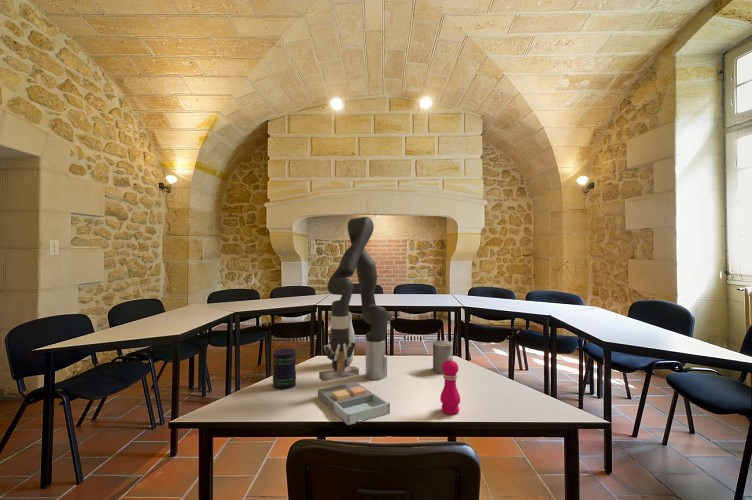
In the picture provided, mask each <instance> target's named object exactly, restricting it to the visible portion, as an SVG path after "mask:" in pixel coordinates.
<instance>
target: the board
mask: <svg viewBox="0 0 752 500" xmlns="http://www.w3.org/2000/svg"><path fill="white" fill-rule="evenodd" d="M358 386H361V387H362V388H364V389H365V390H366V394H364V395H360V396H356V397H354V396H353V395H352V394H351V393H350V398H347V399H343V400H339V401H338V400H337V399H336V398H334V397H333V392H335V391H340V390H346V391H347V392H348V393H349V388H353V387H358ZM373 393H374V392H371V391H370V390H369V389H367V388H366V387H364V386H362V385H361V384H359V383H358V382H356V381H352V382H346V383H342V384H341V383H340V384H337V385H333V386H329V387H324V388H319V389H317V398H318V399H319V400H320V401H322V403H323V404H325V406H326V407H327V408H328V409H330V410H331V411H332V412H333V413H334V403H337V404H339V405H340V406H341V407H342V408H347V407H351V406H355V405H359V404H363V403H367V402H371V401H372V394H373Z"/></svg>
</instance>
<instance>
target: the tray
mask: <svg viewBox="0 0 752 500" xmlns="http://www.w3.org/2000/svg"><path fill="white" fill-rule="evenodd" d="M372 393H373V394H372V401H371V402H367V403H363V404H359V405H355V406H351V407H347V408H342V407H341V406H340V405H339V404H337V403H334V412H333V413H334V414H335V415H336V416H337V415H338V416H339V417H340V418H342V419H343V420H344V421H345V422H344V421H343V420H342V419H341V420H342V421H343V422H344V423H345V425H347V426H349V425H355V424H357V423H356V422H357V421H359V420H364V419H368V420H370V419H369V418H372V417H375V418H377V417H376V416H379V417H381V416H380V415H382V416H385V415H384V414H386V415H388V413H389V414H390V413H391V403H389V402H388V401H387V400H385V399H384V398H382V397H381V396H379V395H378V394H376V393H375V392H372ZM338 416H337V417H338ZM339 417H338V418H339ZM340 418H339V419H340ZM372 419H373V418H372Z"/></svg>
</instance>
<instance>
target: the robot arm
mask: <svg viewBox="0 0 752 500" xmlns="http://www.w3.org/2000/svg"><path fill="white" fill-rule="evenodd" d="M374 229H375V225H374V222H373V220H372V218H371V217H369V216H360V217H354V218H351V219H349V220H348V222H347V233H348V237H349V240H350V246H349V247H348V248H347V249H346V251H344V253H343V255H342V256H341V259H340V263H339V266H338V267H337V269H336V270H335V271H334V272H333V274H332V275H331V277H330V278H329V280H328V282H327V291H328V293H329V294H331V295H335V296H336V295H338V296H341V297H340V299H339V300H334V301H332V303H331V319H330V341H329V343H328V344H325V345H323V350H324V352H325V354H326V357H327V359H329V360H330V361H331V367H332V370H337V361H336V360H337V355H338V353H339V352H340V351H344V354H345V368H346V367H347V366H348V365H347V358H348V357H351V355H352V352H353V350H354V351H355V346H356V343H355V342H354V343H353V342H350V341H349V312H350V309H349V308H350V302H351V299H352V294H353V291H354V283H353V281H352V279H351V278H350V277H353V275H354V274H355V271H356V276H357V279H358V286H359V292H360V298H361V300H360V301H361V313H362V315H361V316H362V318H363V321H364V322H365V323H366V324H368V325H370V331H369V332H366V334H365V378H367V379H368V380H374V381H375V380H382V379H385V378H386V377H388V356H387V355H386V336H387V333H388V321H389V320H388V317H389V316H388V311H387V310H386V308H385V307H383V306H380V305H377V304H376V299H375V290H376V286H377V284H378V283H377V282H378V272H377V265H376V263H375V261H374V259H373V258H372V257H371V255H370V254H369V253H368V251H367V250H366V248H365V247H366V246H367V243H368V242H369V241H370V238H371V237H372V235H373V232H374ZM348 345H349V348H348V350H346V348H347V346H348ZM331 349H332V352H331ZM335 351H336V352H335Z"/></svg>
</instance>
